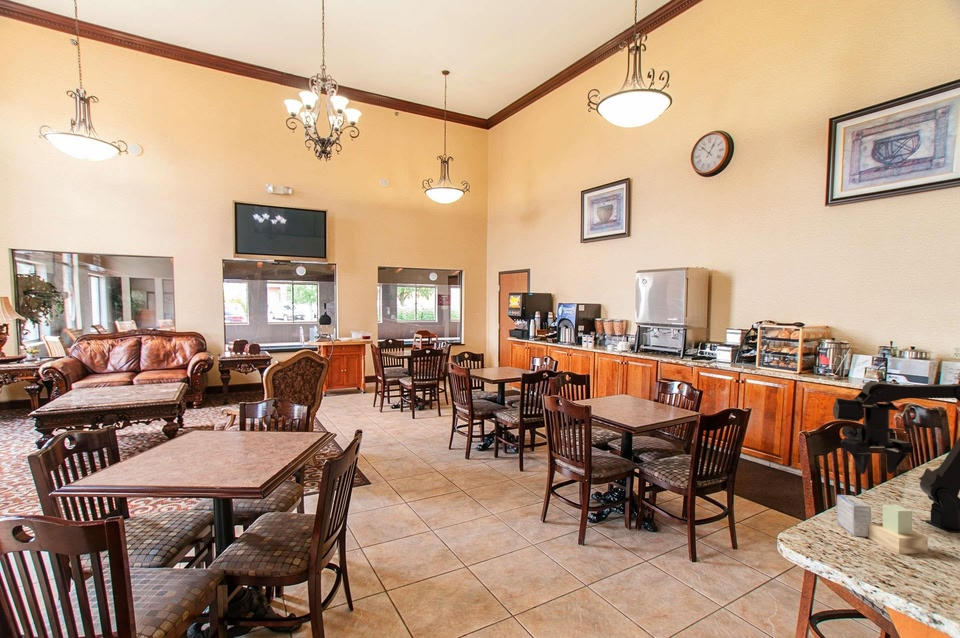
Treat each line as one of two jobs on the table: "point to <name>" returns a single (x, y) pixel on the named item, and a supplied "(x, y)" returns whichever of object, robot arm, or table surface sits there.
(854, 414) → the robot arm
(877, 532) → the beech slab
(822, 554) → the table surface
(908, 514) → the sage block
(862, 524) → the medicine box
